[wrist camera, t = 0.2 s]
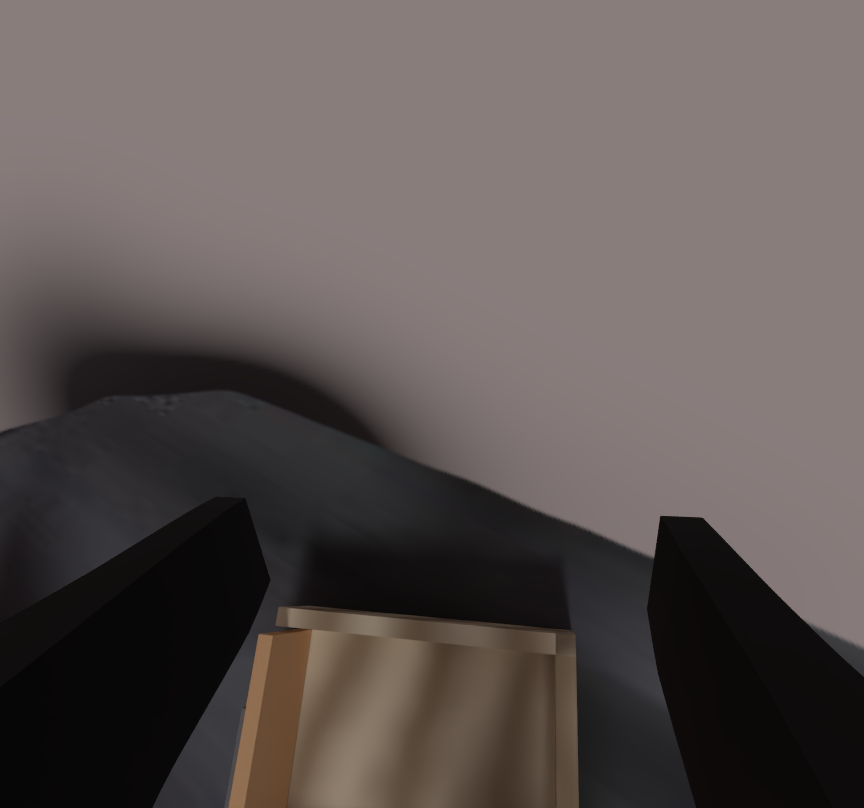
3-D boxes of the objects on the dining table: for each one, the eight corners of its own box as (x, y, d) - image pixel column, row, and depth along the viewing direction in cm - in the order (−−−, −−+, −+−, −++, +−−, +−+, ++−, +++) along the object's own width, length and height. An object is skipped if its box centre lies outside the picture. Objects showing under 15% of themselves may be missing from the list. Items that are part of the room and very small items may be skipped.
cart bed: (571, 630, 36) (575, 635, 31) (577, 966, 30) (582, 1033, 25) (309, 605, 40) (278, 607, 35) (266, 894, 34) (223, 941, 29)
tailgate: (311, 629, 38) (272, 635, 33) (276, 875, 33) (223, 931, 28) (292, 627, 39) (250, 633, 33) (254, 870, 34) (197, 924, 28)
